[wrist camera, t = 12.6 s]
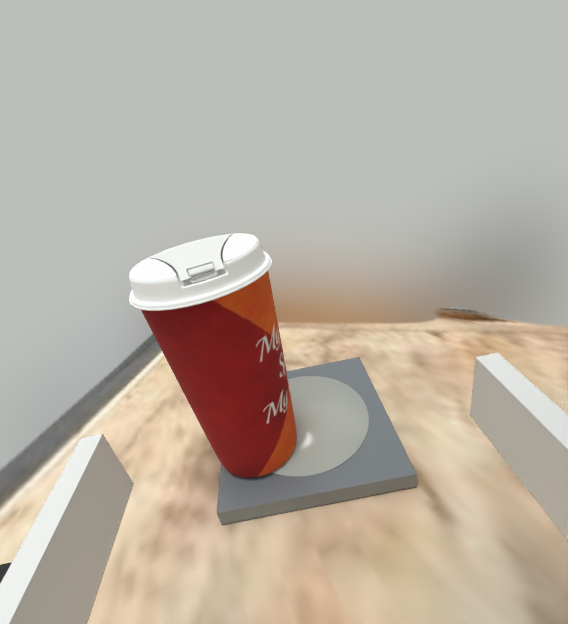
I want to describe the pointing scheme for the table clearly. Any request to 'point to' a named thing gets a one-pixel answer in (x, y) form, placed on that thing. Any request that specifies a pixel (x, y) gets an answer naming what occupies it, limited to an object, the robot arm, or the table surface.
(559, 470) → the robot arm
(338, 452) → the coaster
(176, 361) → the paper cup
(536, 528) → the table surface
